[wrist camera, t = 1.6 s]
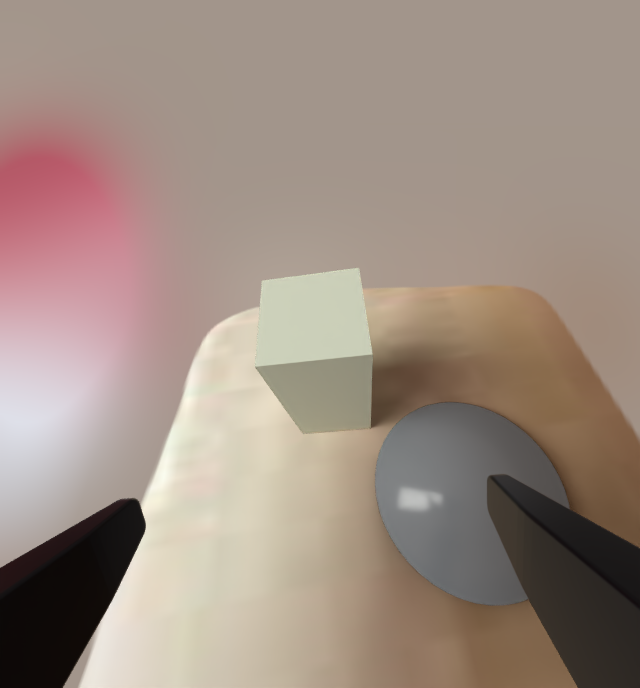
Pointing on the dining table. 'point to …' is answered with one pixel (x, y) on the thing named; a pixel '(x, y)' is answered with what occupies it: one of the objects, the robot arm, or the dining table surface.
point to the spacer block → (317, 349)
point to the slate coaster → (457, 496)
